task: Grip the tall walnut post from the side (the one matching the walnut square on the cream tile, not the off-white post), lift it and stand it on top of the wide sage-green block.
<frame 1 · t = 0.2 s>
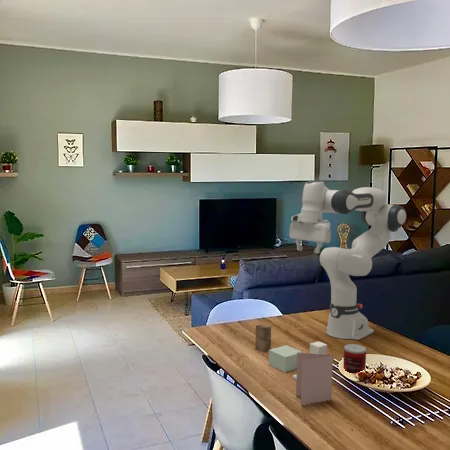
hand: (307, 251, 209), 40 cm above the table, tool pointing down, fingers open, 8 cm apart
offwhite post: (317, 370, 187), on the table
canned food: (353, 377, 181), on the table
greeting card: (313, 402, 162), on the table
sage block: (285, 366, 191), on the table
walnut post: (263, 349, 208), on the table
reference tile: (310, 378, 179), on the table
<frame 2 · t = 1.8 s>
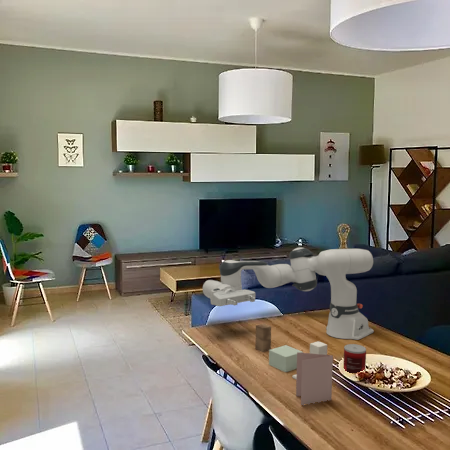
hand: (245, 301, 216), 17 cm above the table, tool horizontal, fingers open, 8 cm apart
nothing on the table moved.
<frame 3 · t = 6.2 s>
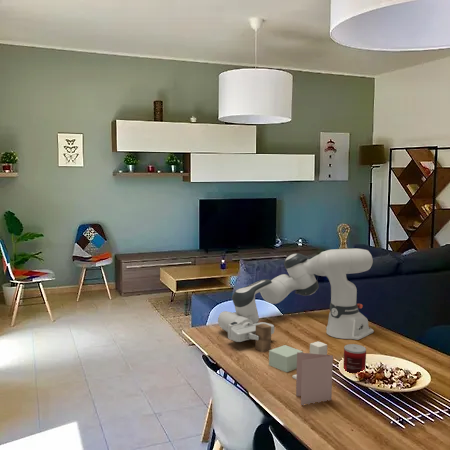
hand: (264, 336, 206), 6 cm above the table, tool horizontal, fingers closed on walnut post, 4 cm apart
walnut post: (263, 349, 208), on the table, touching gripper
everything else where it was.
when the fingers open (13 cm above the table, at t = 10.2 s): walnut post drops 2 cm, resting on sage block.
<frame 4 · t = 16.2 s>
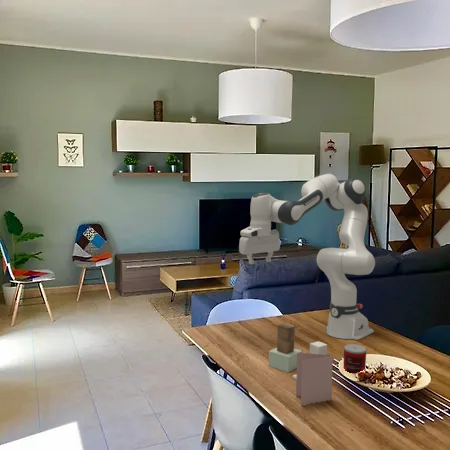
hand: (259, 262, 215), 34 cm above the table, tool pointing down, fingers open, 8 cm apart
sage block: (285, 366, 191), on the table, touching walnut post
walnut post: (285, 350, 190), point 6 cm above the table, touching sage block
everything else where it was.
at the end: walnut post inside the target area on the sage block (0.2 cm from its centre), point 6.1 cm above the sage block's base; walnut post tilted 2°; the gripper is holding nothing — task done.
